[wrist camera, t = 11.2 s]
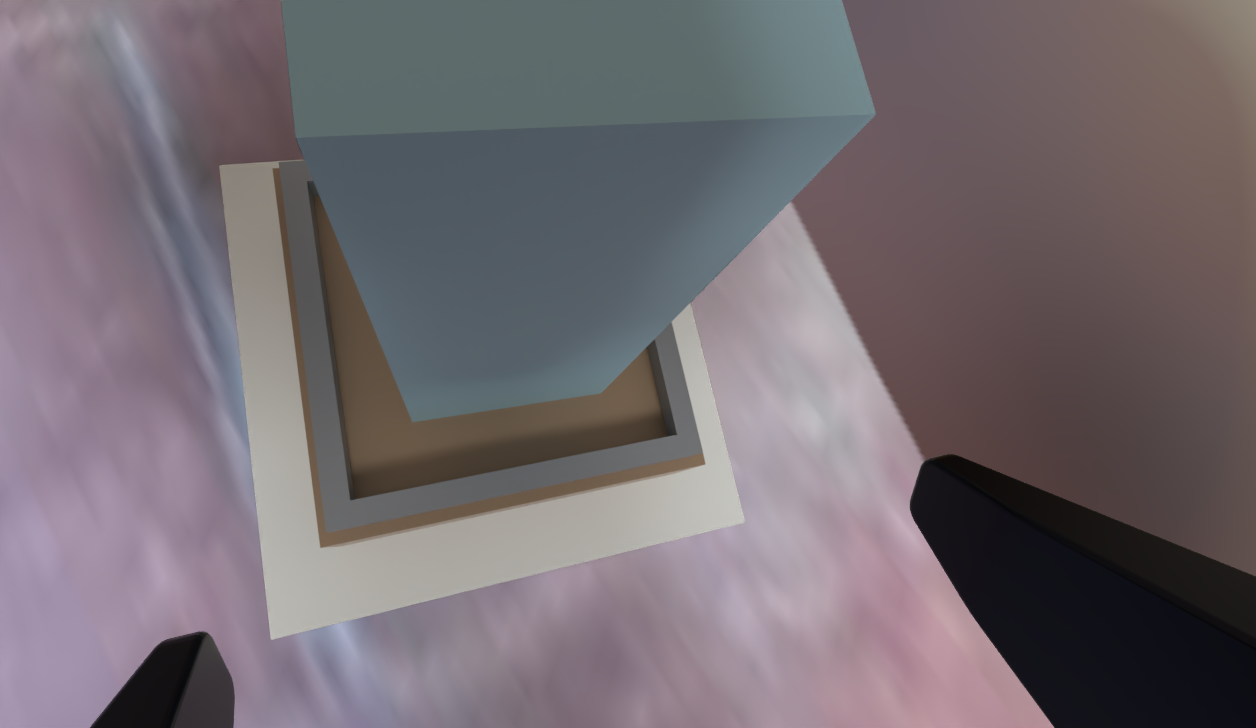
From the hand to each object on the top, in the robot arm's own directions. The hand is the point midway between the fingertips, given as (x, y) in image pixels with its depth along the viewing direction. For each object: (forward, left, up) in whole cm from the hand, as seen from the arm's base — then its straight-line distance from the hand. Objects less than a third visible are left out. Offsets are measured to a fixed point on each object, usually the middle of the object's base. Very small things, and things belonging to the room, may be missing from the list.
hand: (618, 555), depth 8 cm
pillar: (+6, 0, -9) cm, 11 cm away
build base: (+6, 0, -13) cm, 15 cm away
